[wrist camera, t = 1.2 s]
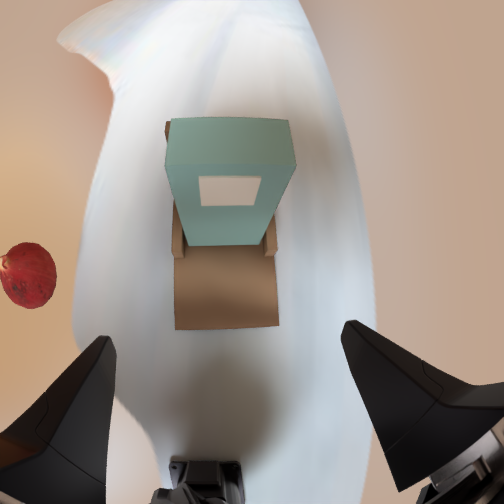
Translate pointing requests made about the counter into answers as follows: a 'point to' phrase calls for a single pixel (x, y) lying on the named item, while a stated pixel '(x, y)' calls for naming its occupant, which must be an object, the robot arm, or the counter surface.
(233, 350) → the counter surface
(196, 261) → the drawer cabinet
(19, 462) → the robot arm
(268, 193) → the green rectangular block
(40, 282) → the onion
